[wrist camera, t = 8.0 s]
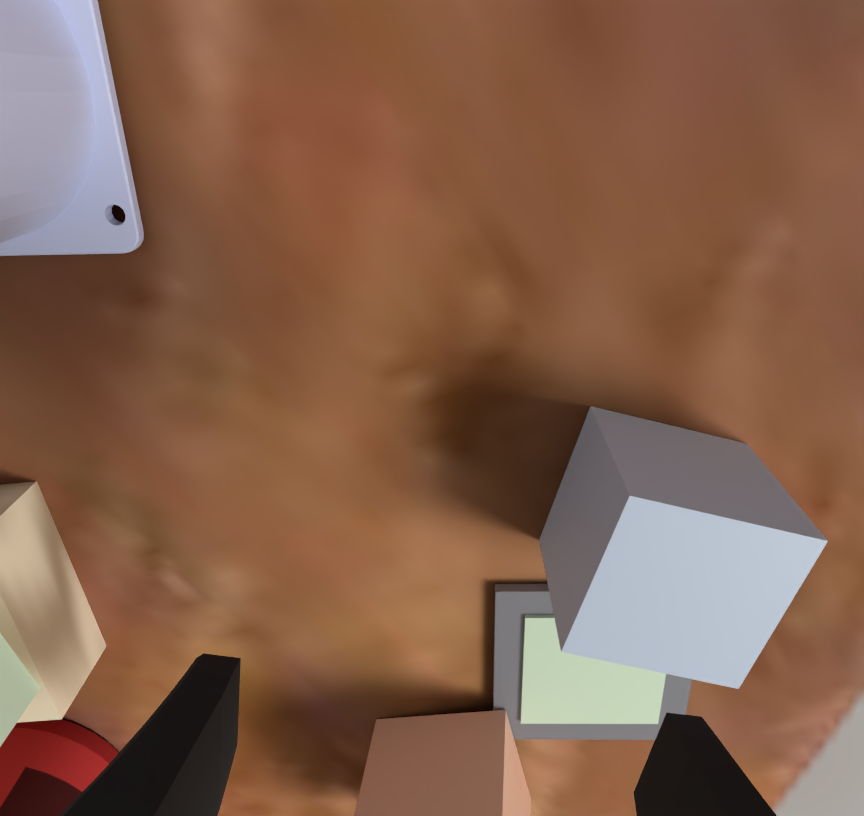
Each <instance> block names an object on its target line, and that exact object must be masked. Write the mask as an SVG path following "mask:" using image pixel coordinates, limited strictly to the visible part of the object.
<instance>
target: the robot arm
mask: <svg viewBox="0 0 864 816" xmlns="http://www.w3.org/2000/svg"><path fill="white" fill-rule="evenodd" d="M113 205H118V206H119V207H121V208H122V209H123V211H124V213H125V221H124V222H123V223H122V222H119V221H117V220H116V219H115V218H114V216H113V214H112V207H113ZM143 239H144V231H143V226H142V221H141V216H140V211H139V206H138V201H137V196H136V191H135V186H134V181H133V176H132V171H131V166H130V161H129V156H128V151H127V146H126V141H125V136H124V131H123V126H122V121H121V116H120V111H119V106H118V101H117V96H116V91H115V86H114V81H113V76H112V71H111V66H110V61H109V56H108V51H107V46H106V41H105V36H104V31H103V26H102V21H101V16H100V10H99V5H98V0H0V256H18V255H67V254H117V253H128V252H132V251H134V250H135V249H137V248H138V247H139V246H140V245H141V244H142V241H143ZM239 683H240V658H234V657H226V656H218V655H210V654H202V655H201V656H199V657H197V658H196V660H195V661H194V662H193V664H192V665H191V666H190V668H189V669H188V671H187V672H186V673H185V675H184V676H183V677H182V678H181V680H180V681H179V682H178V684H177V685H176V686H175V688H174V689H173V690H172V691H171V693H170V694H169V695H168V696H167V698H166V699H165V700H164V701H163V703H162V704H161V705H160V706H159V707H158V709H157V710H156V711H155V712H154V713H153V715H152V716H151V717H150V718H149V719H148V721H147V722H146V723H145V724H144V725H143V726H142V728H141V729H140V730H139V731H138V732H137V733H136V734H135V735H134V737H133V738H132V739H131V740H130V741H129V742H128V743H127V744H126V746H125V747H124V748H123V749H122V750H121V751H120V752H119V753H118V755H117V756H116V757H115V758H114V759H113V760H112V761H111V762H110V764H109V765H108V766H107V767H106V768H105V769H104V770H103V771H102V772H101V773H100V774H99V775H98V776H97V777H96V778H95V779H94V781H93V782H92V783H91V784H90V785H89V786H88V787H87V788H86V789H85V790H84V791H83V792H82V793H81V794H80V795H79V796H78V797H77V798H76V799H75V800H74V801H73V802H72V803H71V804H70V805H69V806H68V807H67V808H66V809H65V810H64V811H63V812H62V813H61V814H60V815H59V816H217V815H218V812H219V809H220V806H221V802H222V798H223V795H224V791H225V788H226V784H227V781H228V777H229V773H230V769H231V766H232V762H233V758H234V754H235V751H236V747H237V736H238V710H239ZM634 798H635V805H636V812H637V816H776V814H775V813H774V812H773V811H772V809H771V808H770V807H769V805H768V804H767V803H766V801H765V800H764V799H763V798H762V796H761V795H760V794H759V792H758V791H757V790H756V788H755V787H754V786H753V784H752V783H751V782H750V780H749V779H748V778H747V776H746V775H745V774H744V772H743V771H742V770H741V768H740V767H739V766H738V764H737V763H736V762H735V760H734V759H733V758H732V756H731V755H730V754H729V752H728V751H727V750H726V748H725V747H724V746H723V744H722V743H721V742H720V740H719V739H718V738H717V736H716V735H715V734H714V732H713V731H712V730H711V728H710V727H709V726H708V724H707V723H706V722H705V721H704V719H703V718H702V717H698V716H690V715H683V714H675V713H666V715H665V717H664V720H663V722H662V725H661V727H660V730H659V732H658V735H657V737H656V739H655V742H654V744H653V747H652V749H651V752H650V754H649V757H648V759H647V762H646V764H645V766H644V769H643V771H642V774H641V776H640V779H639V781H638V784H637V786H636V788H635V791H634Z"/></svg>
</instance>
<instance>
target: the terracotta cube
mask: <svg viewBox="0 0 864 816" xmlns="http://www.w3.org/2000/svg"><path fill="white" fill-rule="evenodd" d="M354 816H531V798H530V794H529V791H528V787H527V784H526V780H525V776H524V773H523V769H522V766H521V762H520V759H519V755H518V752H517V748H516V745H515V741H514V738H513V734H512V730H511V727H510V723H509V720H508V716H507V713H506V710H497V711H483V712H469V713H455V714H442V715H428V716H414V717H401V718H387V719H376V722H375V727H374V731H373V735H372V740H371V744H370V749H369V753H368V757H367V762H366V766H365V770H364V775H363V779H362V784H361V788H360V792H359V797H358V801H357V805H356V810H355V814H354Z"/></svg>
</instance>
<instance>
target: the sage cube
mask: <svg viewBox="0 0 864 816" xmlns="http://www.w3.org/2000/svg"><path fill="white" fill-rule="evenodd" d="M39 689H40V687H39V685H38V684H37V683H36V681H35V680H34V679H33V677H32V676H31V674H30V673H29V672H28V670H27V669H26V668H25V666H24V665H23V663H22V662H21V661H20V659H19V658H18V657H17V655H16V654H15V652H14V651H13V650H12V648H11V647H10V646H9V644H8V643H7V641H6V640H5V639H4V637H3V636H2V635H1V633H0V747H1V745H2V744H3V742H4V741H5V739H6V738H7V736H8V735H9V733H10V732H11V730H12V729H13V728H14V726H15V725H16V723H17V722H18V720H19V719H20V717H21V716H22V714H23V713H24V711H25V710H26V708H27V707H28V706H29V704H30V703H31V701H32V700H33V698H34V697H35V695H36V694H37V692H38V691H39Z"/></svg>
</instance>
